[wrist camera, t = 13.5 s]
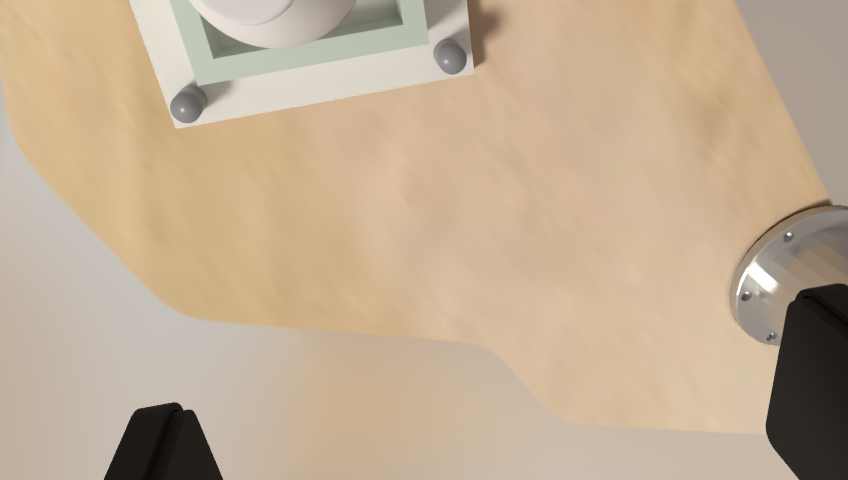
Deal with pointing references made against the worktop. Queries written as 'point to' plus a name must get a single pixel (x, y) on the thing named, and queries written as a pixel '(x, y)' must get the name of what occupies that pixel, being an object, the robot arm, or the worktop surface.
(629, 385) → the worktop surface
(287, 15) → the bath foam
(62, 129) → the worktop surface
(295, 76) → the dock
